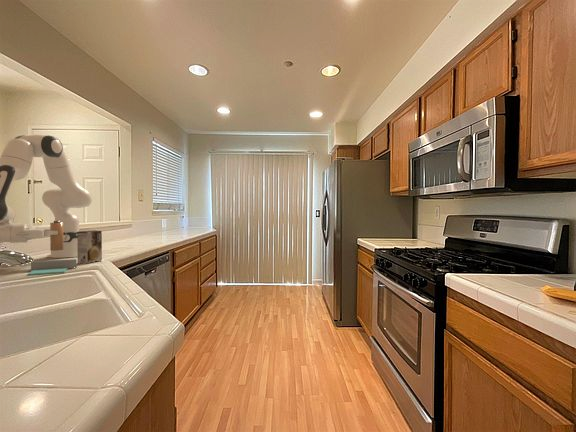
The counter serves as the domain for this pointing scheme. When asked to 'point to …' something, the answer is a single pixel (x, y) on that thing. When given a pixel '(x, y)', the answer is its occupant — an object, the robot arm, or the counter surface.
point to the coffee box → (89, 246)
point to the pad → (48, 271)
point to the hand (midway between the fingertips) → (59, 232)
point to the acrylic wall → (53, 264)
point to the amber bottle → (56, 236)
